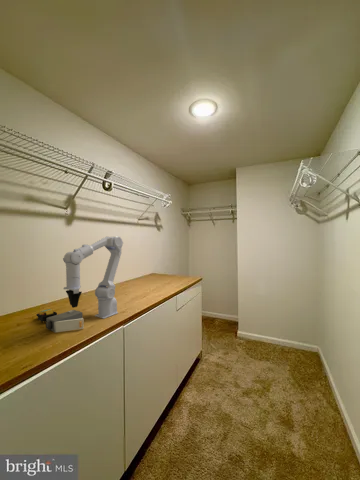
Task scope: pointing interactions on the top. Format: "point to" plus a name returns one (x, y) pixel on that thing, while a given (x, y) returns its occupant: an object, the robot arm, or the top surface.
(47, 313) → the gadget
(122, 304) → the top surface
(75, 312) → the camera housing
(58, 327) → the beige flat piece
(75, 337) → the top surface
